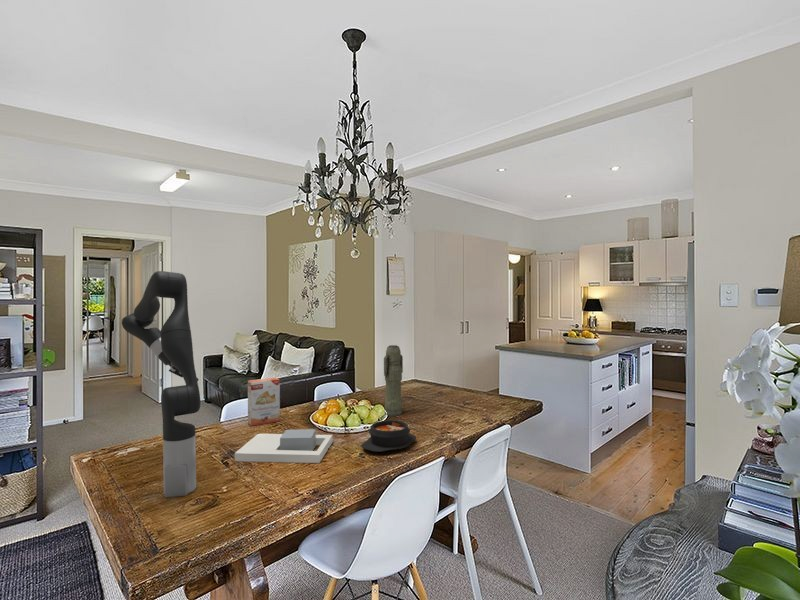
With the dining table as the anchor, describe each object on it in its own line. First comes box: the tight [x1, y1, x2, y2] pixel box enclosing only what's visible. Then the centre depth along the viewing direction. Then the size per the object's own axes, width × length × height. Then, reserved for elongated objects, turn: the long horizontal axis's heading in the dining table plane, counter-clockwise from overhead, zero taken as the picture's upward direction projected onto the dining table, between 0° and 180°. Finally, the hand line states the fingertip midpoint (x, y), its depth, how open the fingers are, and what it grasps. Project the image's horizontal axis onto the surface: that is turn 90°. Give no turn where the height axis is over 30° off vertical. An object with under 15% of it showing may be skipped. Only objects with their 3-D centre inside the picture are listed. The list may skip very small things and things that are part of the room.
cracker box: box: [247, 376, 281, 427], centre depth 206 cm, size 14×6×21 cm, turn 125°
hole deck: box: [234, 433, 334, 464], centre depth 169 cm, size 22×32×3 cm
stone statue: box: [383, 344, 404, 417], centre depth 220 cm, size 9×12×35 cm
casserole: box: [361, 419, 417, 453], centre depth 174 cm, size 25×19×8 cm
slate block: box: [280, 428, 317, 451], centre depth 169 cm, size 10×12×7 cm
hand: (196, 382), depth 167 cm, fingers closed
